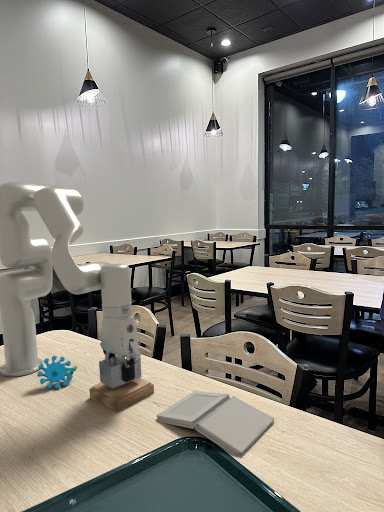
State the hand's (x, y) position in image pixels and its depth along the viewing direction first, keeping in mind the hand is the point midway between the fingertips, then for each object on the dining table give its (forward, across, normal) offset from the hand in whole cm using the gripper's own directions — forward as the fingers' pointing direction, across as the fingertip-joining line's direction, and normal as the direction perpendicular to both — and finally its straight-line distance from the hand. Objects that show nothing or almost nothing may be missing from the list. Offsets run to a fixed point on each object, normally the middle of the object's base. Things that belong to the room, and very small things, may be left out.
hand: (121, 376), depth 94 cm
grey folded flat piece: (+6, -27, -5) cm, 28 cm away
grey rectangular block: (+1, 0, 0) cm, 1 cm away
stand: (+5, 0, 0) cm, 5 cm away
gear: (+6, +21, +7) cm, 23 cm away
